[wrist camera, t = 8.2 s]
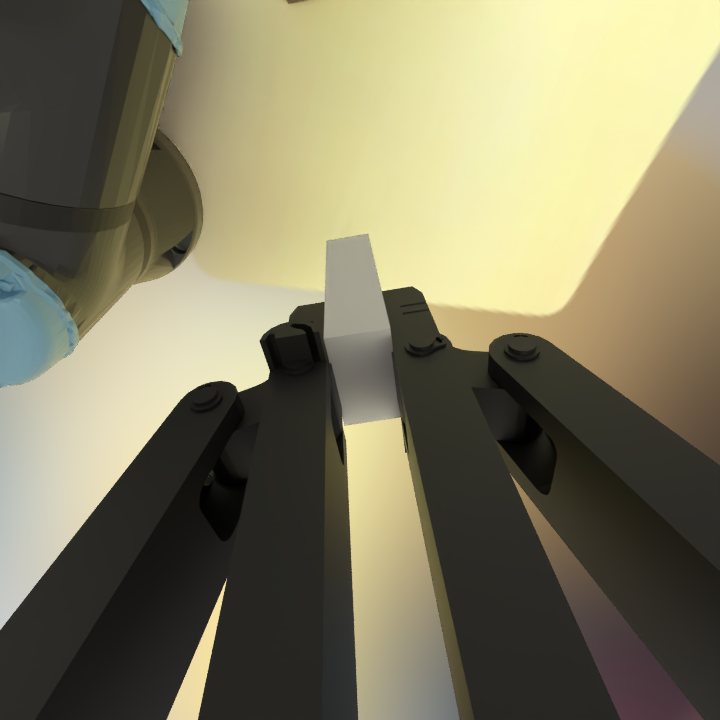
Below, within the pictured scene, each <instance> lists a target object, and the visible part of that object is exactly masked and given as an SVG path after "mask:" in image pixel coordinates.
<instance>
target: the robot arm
mask: <svg viewBox="0 0 720 720" xmlns="http://www.w3.org/2000/svg"><path fill="white" fill-rule="evenodd" d="M188 3H189V0H0V388H2V387H5V386H7V385H20V384H24V383H26V382H29V381H31V380H33V379H35V378H37V377H39V376H40V375H42V374H43V373H45V372H46V371H47V370H48V369H49V368H51V367H52V366H53V365H54V364H56V363H57V362H58V361H59V360H61V359H62V358H65V357H67V356H68V355H70V354H71V353H72V352H73V351H74V348H75V347H76V346H77V344H78V342H79V341H80V340H81V339H82V338H83V336H84V335H85V334H86V333H87V332H88V331H89V330H90V329H91V328H92V327H93V326H94V325H95V324H96V323H97V322H98V321H99V320H100V319H101V318H102V316H103V315H104V314H105V313H106V312H107V311H108V310H109V309H110V308H111V307H112V306H113V305H114V304H115V303H116V302H117V301H118V300H119V299H120V298H121V297H122V295H123V294H124V293H125V292H126V291H127V290H128V289H129V288H130V287H131V286H132V285H133V284H137V283H142V282H146V281H150V280H154V279H157V278H160V277H162V276H164V275H166V274H168V273H170V272H171V271H173V270H174V269H176V268H177V267H178V266H179V265H180V264H181V263H182V262H183V261H184V260H185V259H186V258H187V256H188V255H189V254H190V253H191V251H192V250H193V249H194V247H195V245H196V243H197V241H198V239H199V236H200V233H201V228H202V221H203V208H202V201H201V196H200V192H199V188H198V185H197V183H196V180H195V178H194V176H193V173H192V171H191V169H190V168H189V166H188V164H187V163H186V161H185V159H184V158H183V156H182V155H181V154H180V152H179V151H178V150H177V149H176V147H175V146H174V145H173V144H172V143H171V142H170V141H169V139H167V138H166V137H165V136H164V135H163V134H162V133H161V132H160V131H159V130H158V129H157V126H158V123H159V119H160V116H161V112H162V108H163V105H164V101H165V97H166V94H167V90H168V87H169V83H170V79H171V76H172V72H173V69H174V65H175V61H176V58H177V57H181V55H182V52H183V43H182V41H181V35H182V30H183V25H184V21H185V16H186V12H187V7H188ZM260 344H261V346H262V349H263V352H264V355H265V358H266V361H267V363H268V366H269V369H270V374H269V379H268V380H267V381H265V382H263V383H262V384H259V385H257V386H255V387H252V388H250V389H247V390H244V391H241V392H238V391H237V389H236V386H234V385H233V384H231V383H229V382H224V381H217V382H210V383H206V384H203V385H201V386H198V387H197V388H195V389H194V390H192V391H190V392H189V393H188V394H186V395H185V396H184V397H183V399H181V400H180V402H179V403H178V404H177V405H176V407H175V408H174V409H173V410H172V412H171V413H170V414H169V416H168V417H167V418H166V419H165V421H164V422H163V423H162V425H161V426H160V427H159V428H158V430H157V431H156V432H155V434H154V435H153V436H152V438H151V439H150V440H149V441H148V442H147V444H146V445H145V446H144V448H143V449H142V450H141V451H140V453H139V454H138V455H137V456H136V458H135V459H134V460H133V462H132V463H131V464H130V465H129V467H128V468H127V469H126V470H125V472H124V473H123V474H122V476H121V477H120V478H119V480H118V481H117V482H116V483H115V485H114V486H113V487H112V488H111V490H110V491H109V492H108V493H107V495H106V496H105V497H104V499H103V500H102V501H101V502H100V504H99V505H98V506H97V507H96V509H95V510H94V511H93V513H92V514H91V515H90V516H89V518H88V519H87V520H86V522H85V523H84V524H83V525H82V527H81V528H80V529H79V530H78V532H77V533H76V534H75V536H74V537H73V538H72V539H71V541H70V542H69V543H68V544H67V546H66V547H65V548H64V550H63V551H62V552H61V553H60V555H59V556H58V557H57V559H56V560H55V561H54V563H53V564H52V565H51V566H50V568H49V569H48V570H47V571H46V573H45V574H44V575H43V576H42V578H41V579H40V580H39V581H38V583H37V584H36V585H35V587H34V588H33V589H32V591H31V592H30V593H29V594H28V596H27V597H26V598H25V599H24V601H23V602H22V603H21V604H20V606H19V607H18V608H17V610H16V611H15V612H14V613H13V615H12V616H11V617H10V619H9V620H8V621H7V622H6V624H5V625H4V626H3V628H2V629H1V630H0V720H166V719H167V717H168V715H169V712H170V710H171V708H172V705H173V703H174V701H175V698H176V696H177V694H178V691H179V689H180V687H181V684H182V682H183V680H184V677H185V675H186V673H187V670H188V668H189V666H190V663H191V661H192V658H193V656H194V654H195V651H196V649H197V647H198V644H199V642H200V640H201V637H202V635H203V633H204V630H205V628H206V626H207V623H208V621H209V619H210V616H211V614H212V611H213V609H214V607H215V605H216V602H217V600H218V597H219V595H220V593H221V591H222V588H223V586H224V583H225V581H226V579H227V582H226V587H225V592H224V596H223V601H222V606H221V611H220V616H219V621H218V626H217V630H216V635H215V640H214V645H213V649H212V655H211V659H210V664H209V669H208V674H207V678H206V683H205V688H204V693H203V698H202V703H201V707H200V712H199V717H198V720H358V705H357V684H356V683H357V682H356V659H355V637H354V614H353V591H352V571H351V570H352V569H351V545H350V522H349V500H348V476H347V453H346V439H345V435H344V431H343V426H342V417H343V421H344V425H352V424H359V423H365V422H371V421H378V420H385V419H392V418H399V417H401V421H402V429H403V437H404V445H405V453H407V455H408V460H409V465H410V470H411V475H412V481H413V486H414V491H415V496H416V501H417V506H418V511H419V516H420V521H421V526H422V531H423V536H424V541H425V546H426V551H427V556H428V561H429V566H430V571H431V576H432V581H433V586H434V591H435V596H436V602H437V607H438V612H439V617H440V622H441V627H442V632H443V637H444V642H445V647H446V652H447V657H448V662H449V667H450V671H451V677H452V682H453V687H454V692H455V697H456V702H457V707H458V712H459V717H460V720H620V718H619V715H618V713H617V711H616V709H615V707H614V704H613V702H612V700H611V697H610V695H609V693H608V691H607V689H606V686H605V684H604V682H603V680H602V678H601V675H600V673H599V671H598V669H597V666H596V665H595V662H594V660H593V657H592V655H591V653H590V651H589V649H588V647H587V644H586V642H585V640H584V637H583V635H582V633H581V631H580V628H579V626H578V624H577V622H576V620H575V617H574V615H573V613H572V611H571V609H570V607H569V604H568V602H567V600H566V597H565V595H564V593H563V591H562V589H561V586H560V584H559V582H558V580H557V577H556V575H555V573H554V571H553V569H552V566H551V564H550V562H549V559H548V557H547V555H546V553H545V551H544V549H543V546H542V544H541V542H540V540H539V537H538V535H537V533H536V530H535V528H534V526H533V524H532V522H531V519H530V517H529V515H528V513H527V510H526V508H525V506H524V504H523V502H522V499H521V497H520V495H519V493H518V490H517V488H516V486H515V484H514V481H513V479H512V477H511V475H512V476H513V478H514V479H515V480H516V481H517V483H518V484H519V485H520V486H521V488H522V489H523V490H524V492H525V493H526V494H527V495H528V496H529V498H530V499H531V500H532V502H533V503H534V504H535V506H536V507H537V508H538V509H539V511H540V512H541V513H542V514H543V516H544V517H545V518H546V520H547V521H548V522H549V523H550V525H551V526H552V527H553V528H554V530H555V531H556V532H557V534H558V535H559V536H560V537H561V539H562V540H563V541H564V542H565V544H566V545H567V546H568V548H569V549H570V550H571V551H572V553H573V554H574V555H575V556H576V558H577V559H578V560H579V562H580V563H581V564H582V565H583V567H584V568H585V569H586V570H587V572H588V573H589V574H590V576H591V577H592V578H593V579H594V581H595V582H596V583H597V584H598V586H599V587H600V588H601V589H602V591H603V592H604V593H605V595H606V596H607V597H608V598H609V600H610V601H611V602H612V603H613V605H614V606H615V607H616V609H617V610H618V611H619V612H620V614H621V615H622V616H623V617H624V619H625V620H626V621H627V622H628V624H629V625H630V626H631V628H632V629H633V630H634V631H635V633H636V634H637V635H638V637H639V638H640V639H641V640H642V641H643V643H644V644H645V645H646V647H647V648H648V649H649V650H650V652H651V653H652V654H653V656H654V657H655V658H656V659H657V661H658V662H659V663H660V664H661V666H662V667H663V668H664V670H665V671H666V672H667V673H668V675H669V676H670V677H671V679H672V680H673V681H674V682H675V684H676V685H677V686H678V687H679V688H680V690H681V691H682V693H683V694H684V695H685V696H686V698H687V699H688V700H689V701H690V703H691V704H692V705H693V707H694V708H695V709H696V710H697V712H698V713H699V714H700V715H701V717H702V718H703V719H704V720H720V465H719V464H717V463H716V462H714V461H713V460H711V459H710V458H709V457H708V456H706V455H705V454H703V453H702V452H701V451H699V450H698V449H697V448H695V447H694V446H692V445H691V444H690V443H688V442H686V441H685V440H684V439H683V438H681V437H680V436H679V435H677V434H676V433H674V432H673V431H672V430H670V429H669V428H668V427H666V426H665V425H663V424H662V423H661V422H659V421H658V420H657V419H655V418H654V417H652V416H651V415H650V414H648V413H647V412H646V411H644V410H643V409H641V408H640V407H639V406H637V405H636V404H634V403H633V402H632V401H630V400H629V399H628V398H626V397H625V396H623V395H622V394H621V393H619V392H618V391H617V390H615V389H614V388H612V387H611V386H610V385H608V384H607V383H606V382H604V381H603V380H601V379H600V378H599V377H597V376H596V375H594V374H593V373H592V372H590V371H589V370H588V369H586V368H585V367H583V366H582V365H581V364H579V363H578V362H576V361H575V360H574V359H572V358H571V357H570V356H568V355H567V354H566V353H564V352H563V351H561V350H560V349H559V348H557V347H556V346H555V345H553V344H552V343H550V342H549V341H547V340H545V339H543V338H541V337H539V336H535V335H531V334H526V333H525V334H524V333H513V334H507V335H503V336H501V337H499V338H497V339H495V340H494V341H493V342H492V343H491V344H490V346H489V352H480V351H467V350H461V349H458V348H455V347H453V346H452V344H451V342H450V341H449V339H448V338H447V337H446V336H444V335H442V334H440V333H439V331H438V329H437V326H436V324H435V322H434V320H433V317H432V315H431V312H430V311H429V308H428V305H427V303H426V300H425V298H424V296H423V293H422V292H420V291H419V290H417V289H415V288H414V287H406V288H400V289H393V290H387V291H381V286H380V282H379V278H378V274H377V269H376V265H375V261H374V257H373V253H372V248H371V244H370V240H369V236H368V234H364V235H358V236H352V237H346V238H340V239H334V240H328V241H327V245H326V277H325V302H321V303H315V304H309V305H303V306H298V307H297V308H296V309H295V310H294V311H293V313H292V314H291V315H290V317H289V322H287V323H283V324H280V325H278V326H276V327H273V328H271V329H270V330H269V331H267V332H266V333H265V334H264V335H263V336H262V338H261V340H260ZM510 474H511V475H510ZM227 576H228V577H227Z"/></svg>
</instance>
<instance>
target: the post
mask: <svg viewBox="0 0 720 720" xmlns="http://www.w3.org/2000/svg"><path fill="white" fill-rule="evenodd" d="M287 1H288V3H294V2H299V1H305V0H287Z"/></svg>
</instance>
